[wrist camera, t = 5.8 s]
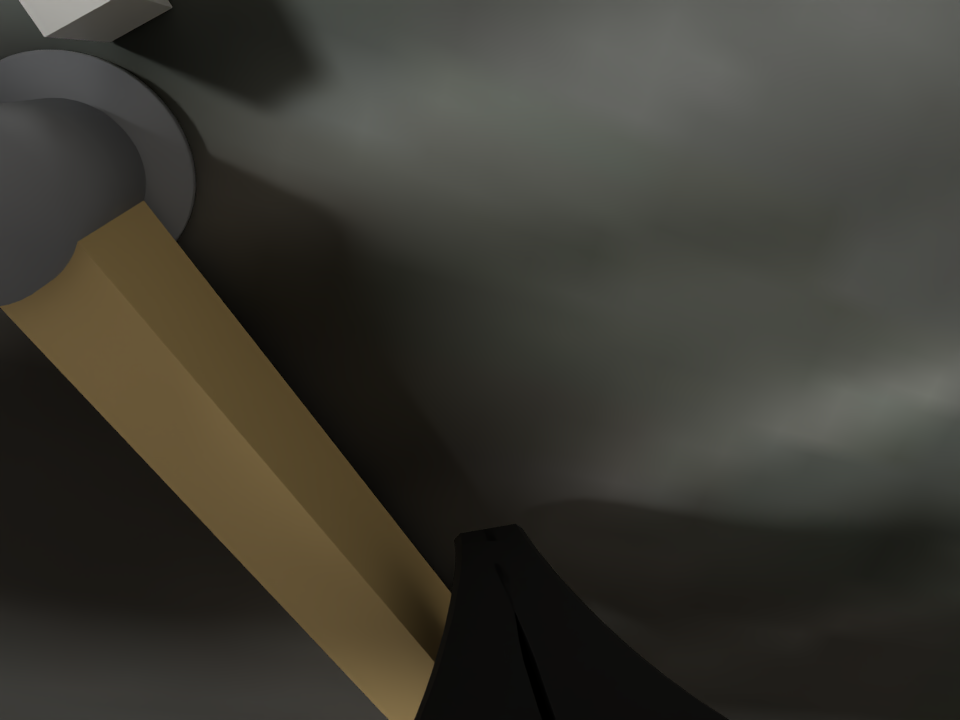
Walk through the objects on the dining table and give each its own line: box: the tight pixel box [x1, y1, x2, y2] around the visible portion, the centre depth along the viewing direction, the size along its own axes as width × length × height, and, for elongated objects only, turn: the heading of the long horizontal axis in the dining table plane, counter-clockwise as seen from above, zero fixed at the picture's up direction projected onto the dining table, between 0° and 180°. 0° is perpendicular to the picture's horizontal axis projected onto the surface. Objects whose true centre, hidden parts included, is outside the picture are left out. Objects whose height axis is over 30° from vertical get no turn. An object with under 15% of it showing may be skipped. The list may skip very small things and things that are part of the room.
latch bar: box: [0, 98, 451, 720], centre depth 12 cm, size 17×2×3 cm, turn 30°
